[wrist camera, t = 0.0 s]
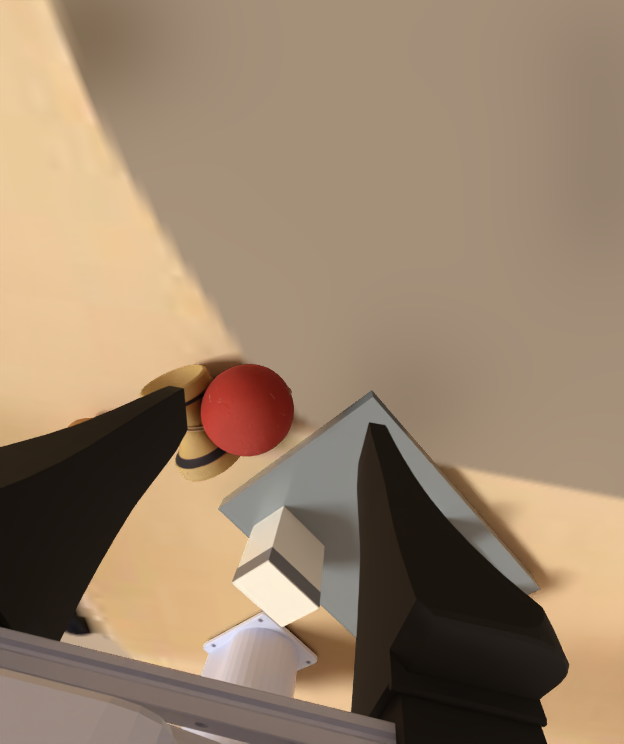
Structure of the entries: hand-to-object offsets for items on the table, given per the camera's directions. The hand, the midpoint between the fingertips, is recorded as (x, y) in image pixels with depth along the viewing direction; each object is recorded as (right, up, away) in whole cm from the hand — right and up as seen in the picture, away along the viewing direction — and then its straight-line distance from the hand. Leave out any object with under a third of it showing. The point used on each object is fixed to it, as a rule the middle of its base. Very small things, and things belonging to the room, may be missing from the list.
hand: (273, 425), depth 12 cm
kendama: (-8, -1, +13) cm, 15 cm away
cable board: (+7, -12, +14) cm, 20 cm away
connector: (0, -11, +14) cm, 18 cm away
